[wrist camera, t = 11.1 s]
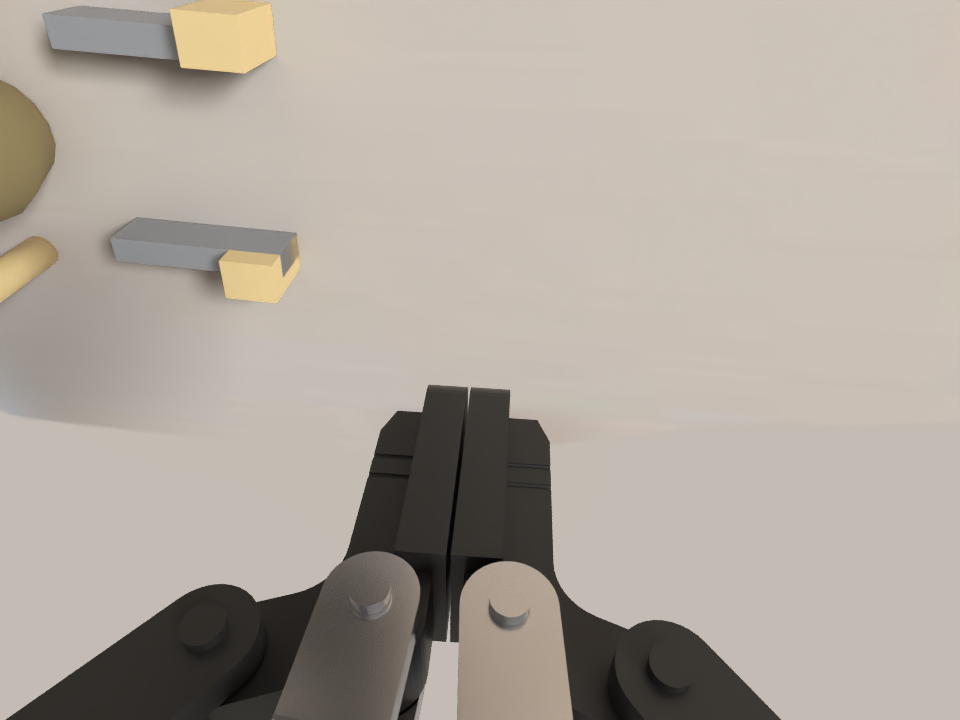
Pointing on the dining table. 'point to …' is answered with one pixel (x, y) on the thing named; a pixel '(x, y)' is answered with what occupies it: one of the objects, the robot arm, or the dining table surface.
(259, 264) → the wooden post frame
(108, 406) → the dining table surface
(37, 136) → the squeeze bottle
